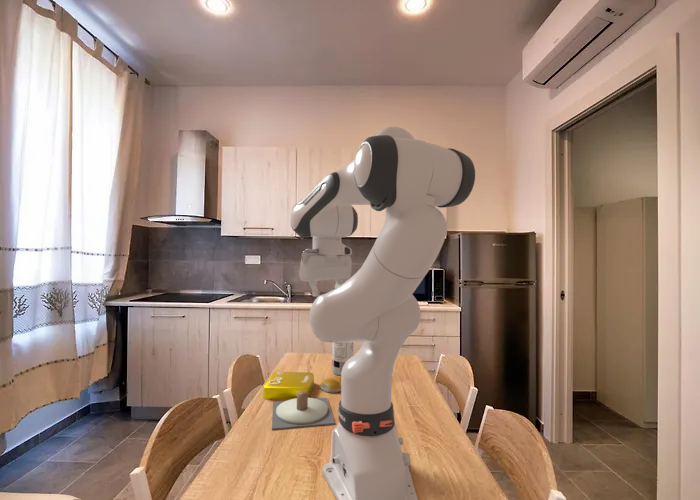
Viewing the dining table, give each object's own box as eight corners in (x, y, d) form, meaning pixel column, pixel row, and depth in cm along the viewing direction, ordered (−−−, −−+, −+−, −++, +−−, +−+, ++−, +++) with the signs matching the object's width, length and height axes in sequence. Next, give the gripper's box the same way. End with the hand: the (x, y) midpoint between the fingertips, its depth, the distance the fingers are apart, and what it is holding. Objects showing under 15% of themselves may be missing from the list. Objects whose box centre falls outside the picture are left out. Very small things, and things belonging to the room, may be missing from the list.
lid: (330, 421, 96) (331, 401, 96) (275, 426, 93) (276, 405, 93) (324, 399, 110) (324, 381, 110) (276, 402, 107) (276, 385, 107)
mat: (335, 424, 95) (335, 422, 95) (271, 430, 92) (271, 428, 92) (326, 398, 112) (326, 397, 112) (273, 402, 108) (273, 401, 108)
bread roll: (350, 388, 121) (351, 376, 121) (332, 395, 115) (332, 383, 115) (334, 382, 127) (334, 371, 127) (316, 388, 120) (316, 377, 121)
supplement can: (329, 370, 138) (329, 333, 139) (347, 368, 142) (348, 331, 142) (337, 377, 131) (337, 337, 131) (356, 374, 135) (356, 335, 135)
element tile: (307, 401, 110) (308, 386, 110) (261, 400, 111) (261, 385, 111) (314, 384, 125) (314, 370, 125) (273, 383, 126) (273, 370, 126)
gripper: (310, 248, 94) (310, 299, 94) (355, 249, 111) (354, 292, 111) (294, 248, 98) (294, 297, 98) (339, 249, 114) (339, 291, 114)
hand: (326, 294), depth 104 cm, fingers open, 8 cm apart
